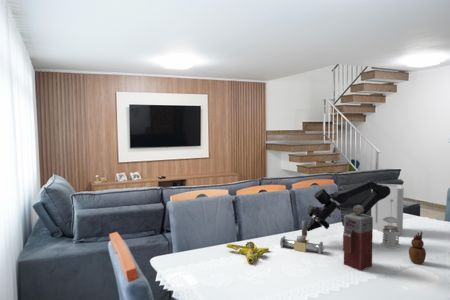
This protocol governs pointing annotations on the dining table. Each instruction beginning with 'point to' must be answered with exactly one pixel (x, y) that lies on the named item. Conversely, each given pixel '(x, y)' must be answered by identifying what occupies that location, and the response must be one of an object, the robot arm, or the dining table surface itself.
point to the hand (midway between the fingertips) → (307, 230)
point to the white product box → (389, 209)
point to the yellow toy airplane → (249, 250)
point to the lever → (303, 232)
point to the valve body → (301, 245)
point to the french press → (393, 235)
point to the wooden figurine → (417, 250)
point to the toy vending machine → (358, 239)
